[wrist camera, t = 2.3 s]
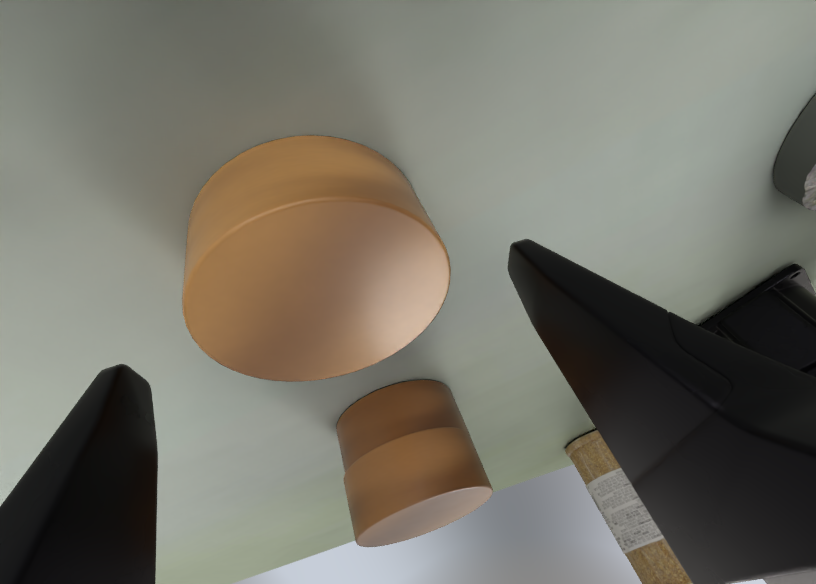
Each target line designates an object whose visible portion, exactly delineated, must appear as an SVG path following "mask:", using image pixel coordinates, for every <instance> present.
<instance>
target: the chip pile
mask: <svg viewBox="0 0 816 584" xmlns="http://www.w3.org/2000/svg"><path fill="white" fill-rule="evenodd" d="M336 429H337V436H338V440H339V445H340V450H341V455H342V460H343V465H344V470H345V476H344V485H345V490H346V495H347V500H348V505H349V510H350V515H351V520H352V525H353V530H354V535H355V540H356V543H357V544H358V545H359V546H363V547H377V546H384V545H389V544H393V543H397V542H401V541H405V540H408V539H411V538H414V537H417V536H420V535H423V534H426V533H428V532H431V531H433V530H436V529H438V528H441V527H443V526H445V525H448V524H449V523H452V522H454V521H456V520H458V519H460V518H462V517H464V516H465V515H467V514H469V513H471V512H472V511H474V510H475V509H477V508H478V507H480V506H481V505H482V504H483V503H485V502H486V501H487V500H488V499H489V498H490V497H491V495H492V493H493V489H492V486H491V484H490V482H489V479H488V477H487V475H486V472H485V470H484V468H483V465H482V463H481V461H480V458H479V456H478V454H477V451H476V449H475V447H474V444H473V442H472V440H471V437H470V434H469V432H468V429H467V427H466V425H465V422H464V420H463V418H462V415H461V413H460V411H459V408H458V406H457V404H456V401H455V399H454V397H453V394H452V392H451V390H450V389H449V388H448V387H447V386H446V385H445V384H443V383H441V382H438V381H433V380H413V381H407V382H402V383H397V384H394V385H391V386H387V387H385V388H382V389H379V390H377V391H375V392H373V393H370V394H369V395H367V396H365V397H363V398H361V399H360V400H358V401H357V402H355V403H354V404H353V405H351V406H350V407H349V408H348V409H347V410H346V411H345V412H344V413H343V414H342V416H341V417H340V419H339V421H338V423H337V428H336Z"/></svg>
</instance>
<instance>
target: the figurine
mask: <svg viewBox="0 0 816 584" xmlns="http://www.w3.org/2000/svg"><path fill="white" fill-rule="evenodd" d="M773 178H774V184H775V186H776V188H777V189H778V190H779V191H780V192H782V193H783V194H785V195H786V196H788V197H790V198H791V199H793V200H795V201H796V202H798V203H799V204H801V205H803V206H804V207H806V208H807V209H809V210H816V94H815V96H814V97H813V98H812V100H811V101H810V102H809V104H808V105H807V106H806V108H805V109H804V111H803V112H802V113H801V115H800V116H799V118H798V119H797V121H796V122H795V124H794V125H793V127H792V129H791V130H790V132H789V134H788V136H787V137H786V139H785V141H784V143H783V145H782V147H781V150H780V152H779V154H778V157H777V160H776V163H775V168H774V177H773Z"/></svg>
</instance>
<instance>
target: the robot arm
mask: <svg viewBox="0 0 816 584" xmlns="http://www.w3.org/2000/svg"><path fill="white" fill-rule="evenodd" d="M508 272H509V275H510V278H511V280H512V282H513V284H514V286H515V288H516V290H517V293H518V295H519V297H520V299H521V301H522V303H523V305H524V308H525V310H526V312H527V314H528V316H529V318H530V320H531V322H532V324H533V326H534V328H535V330H536V331H537V333H538V335H539V336H540V338H541V340H542V341H543V343H544V344H545V346H546V348H547V349H548V351H549V353H550V354H551V356H552V357H553V359H554V361H555V362H556V364H557V365H558V367H559V369H560V370H561V372H562V373H563V375H564V377H565V378H566V380H567V382H568V383H569V385H570V386H571V388H572V390H573V391H574V393H575V394H576V396H577V398H578V399H579V401H580V402H581V404H582V406H583V407H584V409H585V411H586V412H587V414H588V415H589V417H590V419H591V420H592V422H593V423H594V425H595V427H596V428H597V430H598V432H599V433H600V435H601V436H602V438H603V440H604V441H605V443H606V444H607V446H608V448H609V449H610V451H611V452H612V454H613V456H614V457H615V459H616V461H617V462H618V464H619V465H620V467H621V469H622V470H623V472H624V473H625V475H626V477H627V478H628V480H629V481H630V482H631V485H632V487H633V488H634V490H635V492H636V493H637V495H638V496H639V498H640V500H641V501H642V503H643V504H644V506H645V508H646V509H647V511H648V512H649V514H650V516H651V517H652V519H653V521H654V522H655V524H656V525H657V527H658V529H659V530H660V532H661V533H662V535H663V537H664V538H665V540H666V541H667V543H668V545H669V546H670V548H671V550H672V551H673V553H674V554H675V556H676V558H677V559H678V561H679V562H680V564H681V566H682V567H683V569H684V570H685V572H686V574H687V575H688V577H689V578H690V580H691V581H692V583H693V584H731V583H737V582H744V581H750V580H757V579H764V581H765V582H766V583H767V584H816V296H815V291H814V289H813V287H812V285H811V283H810V280H809V278H808V276H807V274H806V271H805V269H803V268H802V267H801V266H799V265H798V264H793V265H791V266H789V267H788V268H786V269H785V270H783V271H782V272H780V273H779V274H777V275H776V276H774V277H773V278H771V279H770V280H768V281H767V282H765V283H764V284H762V285H761V286H759V287H758V288H756V289H755V290H753V291H752V292H750V293H749V294H747V295H746V296H744V297H743V298H741V299H740V300H738V301H737V302H735V303H734V304H732V305H731V306H729V307H728V308H726V309H725V310H723V311H722V312H720V313H719V314H717V315H716V316H714V317H713V318H711V319H710V320H708V321H707V322H705V323H704V324H702V325H701V326H697V325H695V324H693V323H691V322H689V321H687V320H685V319H683V318H681V317H679V316H677V315H675V314H673V313H671V312H667V310H665V309H663V308H662V307H660V306H658V305H656V304H654V303H652V302H650V301H648V300H646V299H644V298H642V297H640V296H638V295H636V294H634V293H632V292H630V291H629V290H627V289H625V288H623V287H621V286H619V285H617V284H615V283H613V282H611V281H609V280H607V279H605V278H603V277H601V276H599V275H598V274H596V273H594V272H592V271H590V270H588V269H586V268H584V267H582V266H580V265H578V264H576V263H574V262H572V261H570V260H568V259H566V258H565V257H563V256H561V255H559V254H557V253H555V252H553V251H551V250H549V249H547V248H545V247H543V246H541V245H539V244H537V243H535V242H534V241H532V240H529V239H524V240H521V241H518V242H514V243H512V245H511V246H510V252H509V260H508ZM157 472H158V452H157V439H156V430H155V421H154V411H153V402H152V393H151V388H150V385H149V383H148V382H147V381H146V380H145V379H144V378H143V377H141V376H140V375H139V374H138V373H136V372H135V371H134V370H132V369H131V368H130V367H129V366H127V365H124V364H119V365H116V366H113V367H110V368H106V369H104V370H102V371H101V372H100V373H99V374H98V375H97V377H96V378H95V379H94V381H93V382H92V383H91V385H90V386H89V387H88V389H87V390H86V391H85V393H84V394H83V396H82V397H81V398H80V400H79V401H78V402H77V404H76V405H75V406H74V408H73V409H72V410H71V412H70V413H69V414H68V416H67V417H66V419H65V420H64V421H63V423H62V424H61V425H60V427H59V428H58V429H57V431H56V432H55V433H54V435H53V436H52V437H51V439H50V440H49V442H48V443H47V444H46V446H45V447H44V448H43V450H42V451H41V452H40V454H39V455H38V456H37V458H36V459H35V460H34V462H33V463H32V465H31V466H30V467H29V469H28V470H27V471H26V473H25V474H24V475H23V477H22V478H21V479H20V481H19V482H18V483H17V485H16V486H15V488H14V489H13V490H12V492H11V493H10V494H9V496H8V497H7V498H6V500H5V501H4V502H3V504H2V505H1V506H0V584H155V570H156V521H157Z"/></svg>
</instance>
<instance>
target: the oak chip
mask: <svg viewBox="0 0 816 584" xmlns="http://www.w3.org/2000/svg"><path fill="white" fill-rule="evenodd" d="M450 272H451V269H450V261H449V256H448V253H447V250H446V247H445V245H444V243H443V242H442V240H441V238H440V236H439V235H438V233H437V231H436V229H435V227H434V226H433V224H432V222H431V220H430V219H429V217H428V215H427V213H426V212H425V210H424V208H423V206H422V205H421V203H420V201H419V199H418V197H417V196H416V194H415V192H414V190H413V189H412V187H411V185H410V183H409V182H408V180H407V179H406V177H405V176H404V175H403V174H402V172H401V171H400V170H399V169H398V168H397V167H396V166H395V165H394V164H393V163H392V162H391V161H389V160H388V159H387V158H385V157H384V156H382V155H381V154H379V153H378V152H376V151H374V150H372V149H370V148H368V147H366V146H364V145H361V144H358V143H355V142H352V141H349V140H345V139H340V138H335V137H330V136H314V135H309V136H293V137H288V138H282V139H277V140H273V141H270V142H267V143H264V144H261V145H258V146H255V147H253V148H251V149H249V150H247V151H245V152H243V153H241V154H239V155H238V156H236V157H235V158H233V159H232V160H230V161H229V162H227V163H226V164H224V165H223V166H222V167H221V168H220V169H219V170H218V171H217V172H216V173H214V174H213V175H212V176H211V178H210V179H209V180H208V181H207V183H206V184H205V185H204V186H203V187H202V189H201V191H200V193H199V194H198V196H197V198H196V200H195V202H194V205H193V207H192V210H191V213H190V218H189V224H188V233H187V246H186V258H185V271H184V284H183V297H182V305H183V316H184V319H185V323H186V326H187V328H188V330H189V332H190V334H191V336H192V338H193V339H194V341H195V342H196V343H197V344H198V346H199V347H200V348H201V349H202V350H203V351H204V352H205V353H206V354H207V355H208V356H209V357H211V358H212V359H214V360H215V361H217V362H218V363H220V364H221V365H223V366H225V367H227V368H229V369H231V370H233V371H236V372H239V373H242V374H245V375H248V376H252V377H256V378H260V379H267V380H274V381H312V380H320V379H327V378H332V377H337V376H341V375H345V374H348V373H352V372H355V371H358V370H361V369H364V368H366V367H369V366H371V365H373V364H376V363H378V362H380V361H382V360H384V359H386V358H388V357H389V356H391V355H393V354H395V353H396V352H398V351H399V350H401V349H402V348H404V347H405V346H407V345H408V344H409V343H411V342H412V341H413V340H414V339H415V338H417V337H418V336H419V335H420V334H421V333H422V332H423V331H424V330H425V329H426V328H427V327H428V325H429V324H430V323H431V322H432V321H433V319H434V318H435V317H436V315H437V314H438V312H439V310H440V309H441V307H442V305H443V303H444V301H445V298H446V295H447V293H448V288H449V284H450Z"/></svg>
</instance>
